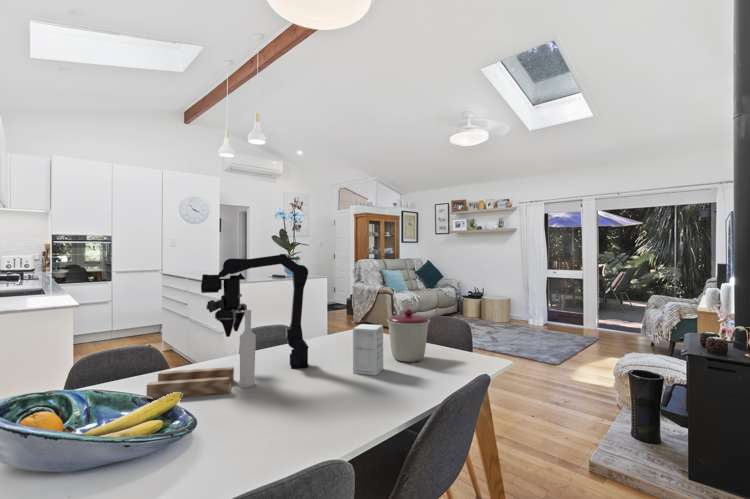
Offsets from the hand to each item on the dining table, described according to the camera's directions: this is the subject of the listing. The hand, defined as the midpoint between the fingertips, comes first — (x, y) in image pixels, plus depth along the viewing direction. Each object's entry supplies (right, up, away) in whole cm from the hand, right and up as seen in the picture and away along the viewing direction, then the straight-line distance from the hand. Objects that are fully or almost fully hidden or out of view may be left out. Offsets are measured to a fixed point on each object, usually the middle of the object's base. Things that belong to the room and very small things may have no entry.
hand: (232, 333), depth 139 cm
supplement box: (+51, -15, +2) cm, 53 cm away
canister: (+67, -15, +19) cm, 71 cm away
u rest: (-6, -14, -18) cm, 24 cm away
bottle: (+10, -14, -14) cm, 23 cm away
